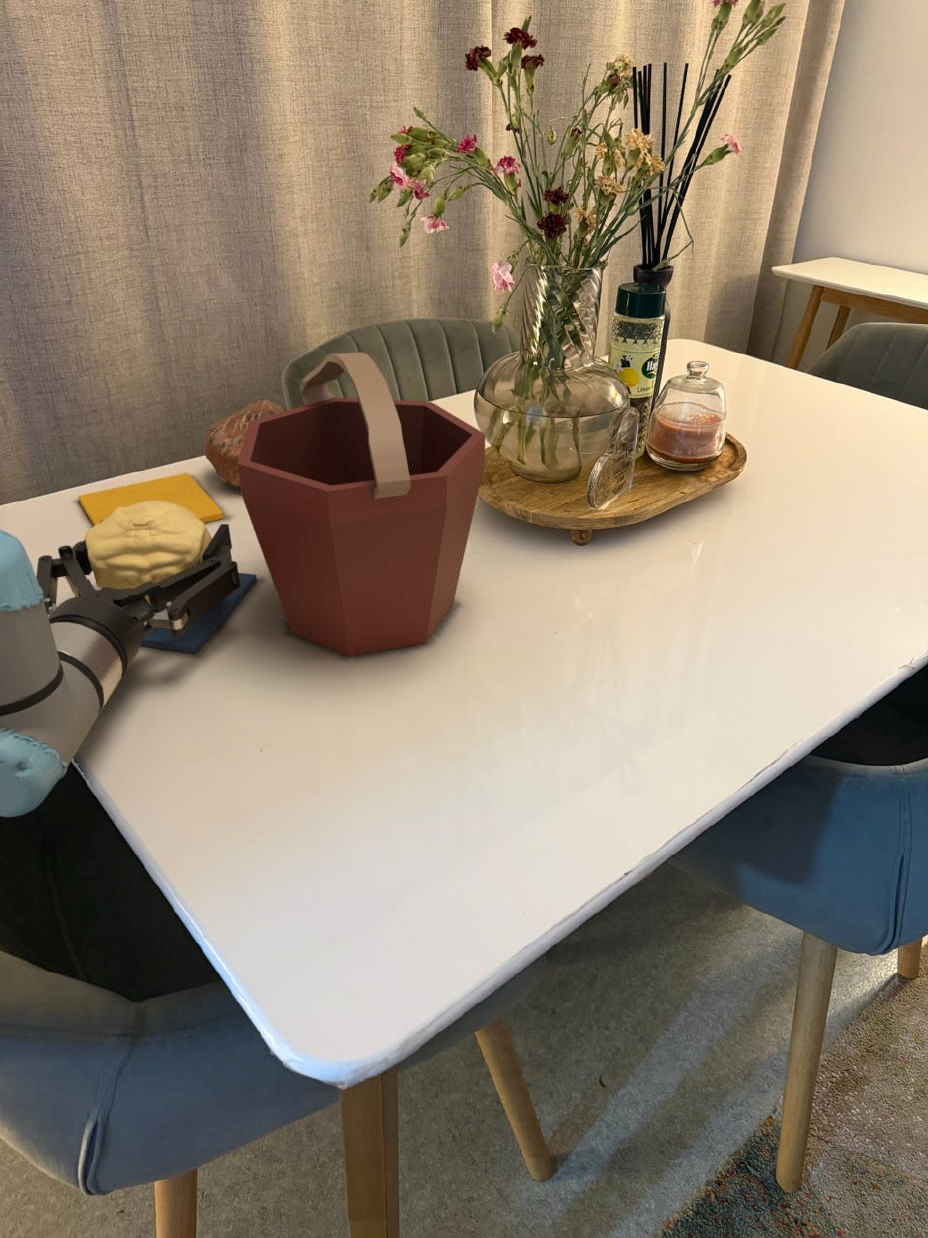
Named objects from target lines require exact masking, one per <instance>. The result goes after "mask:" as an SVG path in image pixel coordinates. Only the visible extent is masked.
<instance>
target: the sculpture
mask: <svg viewBox="0 0 928 1238" xmlns="http://www.w3.org/2000/svg"><path fill="white" fill-rule="evenodd" d="M84 535H85V536H84V540H85V541H86V546H87V551H88V558H89V561H90V563H91V569H92V570H93V571H92V573H93V577H94V580H95V583H96V584H95V585H96V587H98V588H99V589H102V588H115V589H127V588H132V589H133V588H135V587H137V586H139V585H142V584H144V583H146V582H148V581H152V582H154V583H157V582H159V581H162V580H164V579H166V578H168V577H170V576H172V575H175V574H177V573H179V572H181V571H183V570H185V569H188V568H190V567H192V566H194V565H196V564H198V563H200V562H203V557H202V554H203V553H204V551H205V549H206V548H207V546H208V545H209V543H210V541H211V540H212V538H213V537H212V535H211V533H210V531H209V530H208V527H207V526H206V523H203V522H202V521H201V520H200V519H199V518H198V517H197V516H196V515H195V514H194V513H193V512H191V511H190V510H188V509H186V508H184V507H182V506H180V505H177V504H174V503H170V502H165V501H145V502H140V503H136V504H133V505H130V506H127V507H118V508H116V509H115V511H114V512H113V513H112V514H111V515H110V516H109V518H107V519H105V520H103V521H102V522H100V523H99V524H97V525H95V526H94V525H93V526H92V527H90V528H89V529H88V530H86V532H85V534H84ZM145 598H146V599H147V601H148V603H149V604H150V601H149V597H148V595H147V596H145Z"/></svg>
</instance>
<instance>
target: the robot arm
mask: <svg viewBox="0 0 928 1238" xmlns="http://www.w3.org/2000/svg"><path fill="white" fill-rule="evenodd" d="M102 521H103V520H101V521H100V522H102ZM230 531H231V529H230V525H229V523H221V524H220V525H219V527H218V528H217V530H216V531H215V533H214V535H213V536H212V537H211V538H212V540H211V541H210V543H209V545H208V546H207V548H206V549H205V551H204V553H203V554H202V557H203V562H200V563H198V564H196V565H194V566H192V567H190V568H188V569H185V570H183V571H181V572H179V573H177V574H175V575H172V576H170V577H168V578H166V579H164V580H162V581H159V582H157V583H154V582H152V581H148V582H146V583H144V584H142V585H139V586H137V587H135V588H133V589H132V588H127V589H115V588H102V589H101V588H99V589H96V588H95V587H94V585H93V584H92V582H91V579H89V578H88V577H87V576H90V574H91V573H93V570H92V569H91V563H90V561H89V558H88V551H87V546H86V541H85V539H83V541H82V540H80V541H78V542H76V543H75V544H74V545H73V546H71V545H62V546H60V547H58V549H57V551H58V555H59V558H53V557H52V555H49V554H47V555H46V554H45V555H41V556H40V557H39V558H38V560H37V567H36V571H35V570H34V567H33V565H32V562H31V560H30V558H29V556H28V553H27V550H26V548H25V546H24V544H23V543H22V542H21V541H20V540H19V538H18V537H16V536H14V535H13V534H11V533H9V532H8V531H5V530H3V529H0V817H3V818H13V817H15V818H16V817H19V816H20V817H21V816H24V815H26V814H29V813H30V812H32V811H34V810H35V809H36V808H38V807H39V806H40V805H42V803H43V802H44V800H45V799H46V798H47V796H48V795H49V794H50V792H51V791H52V790H53V788H54V787H55V786H56V784H57V782H58V781H60V780H61V779H62V778H63V777H64V776H65V775H66V773H67V770H68V768H69V765H70V764H71V762H72V761H73V759H74V757H75V755H76V754H77V752H78V750H79V749H80V747H81V745H82V744H83V742H84V740H85V739H86V738H87V735H88V733H89V732H90V731H91V729H92V728H93V725H94V724H95V722H96V720H97V719H98V717H99V715H100V714H101V712H102V711H103V709H104V707H105V706H106V704H107V702H108V701H109V699H110V697H112V695H113V693H114V691H115V689H116V688H117V687H118V684H119V682H120V681H121V680H122V679H123V677H124V676H125V675H126V673H127V672H128V670H129V668H130V666H131V665H132V663H133V661H134V660H135V658H136V657H137V655H138V653H139V650H140V648H141V642H142V639H143V637H144V636H145V635H147V634H148V633H150V632H151V631H153V630H154V629H155V628H171V633H172V635H173V636H175V637H179V636H182V635H184V634H185V633H186V632H187V630H188V628H189V627H190V625H191V624H192V622H194V621H195V620H196V619H198V618H199V617H200V616H202V615H203V614H204V613H206V612H207V611H208V610H210V609H211V608H212V607H214V606H215V605H216V604H218V603H219V602H220V601H222V600H223V599H224V598H226V597H227V596H228V595H230V594H231V593H232V592H234V591H235V590H236V589H238V588H239V587H240V580H239V573H240V572H239V565H238V562H237V561H235V560H233V558H232V549H233V544H232V537H231V532H230ZM59 578H65V580H66V582H67V584H68V586H69V588H70V590H71V591H72V593H73V595H74V597H71V598H68V599H66V600H64V601H63V602H61V603H60V604H59V605H58V606H57V600H58V599H57V598H58V587H59V586H58V585H59ZM147 595H148V597H149V601H150V604H149V603H148V601H147V599H146V598H145V596H147Z"/></svg>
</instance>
